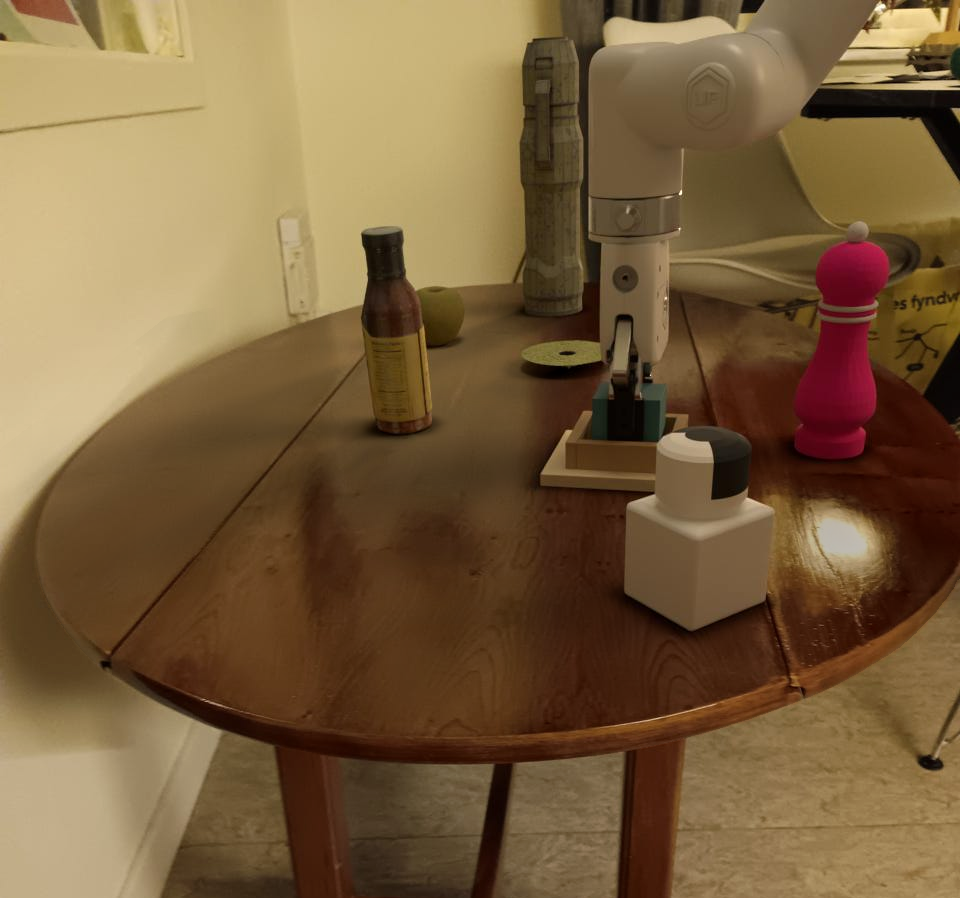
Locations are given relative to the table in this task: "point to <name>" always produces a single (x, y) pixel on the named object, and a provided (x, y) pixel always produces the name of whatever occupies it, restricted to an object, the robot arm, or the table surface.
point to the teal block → (652, 415)
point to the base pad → (605, 459)
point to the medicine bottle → (699, 531)
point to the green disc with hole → (563, 353)
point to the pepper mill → (841, 350)
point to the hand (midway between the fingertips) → (629, 429)
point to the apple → (440, 314)
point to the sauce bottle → (394, 337)
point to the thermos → (551, 177)
